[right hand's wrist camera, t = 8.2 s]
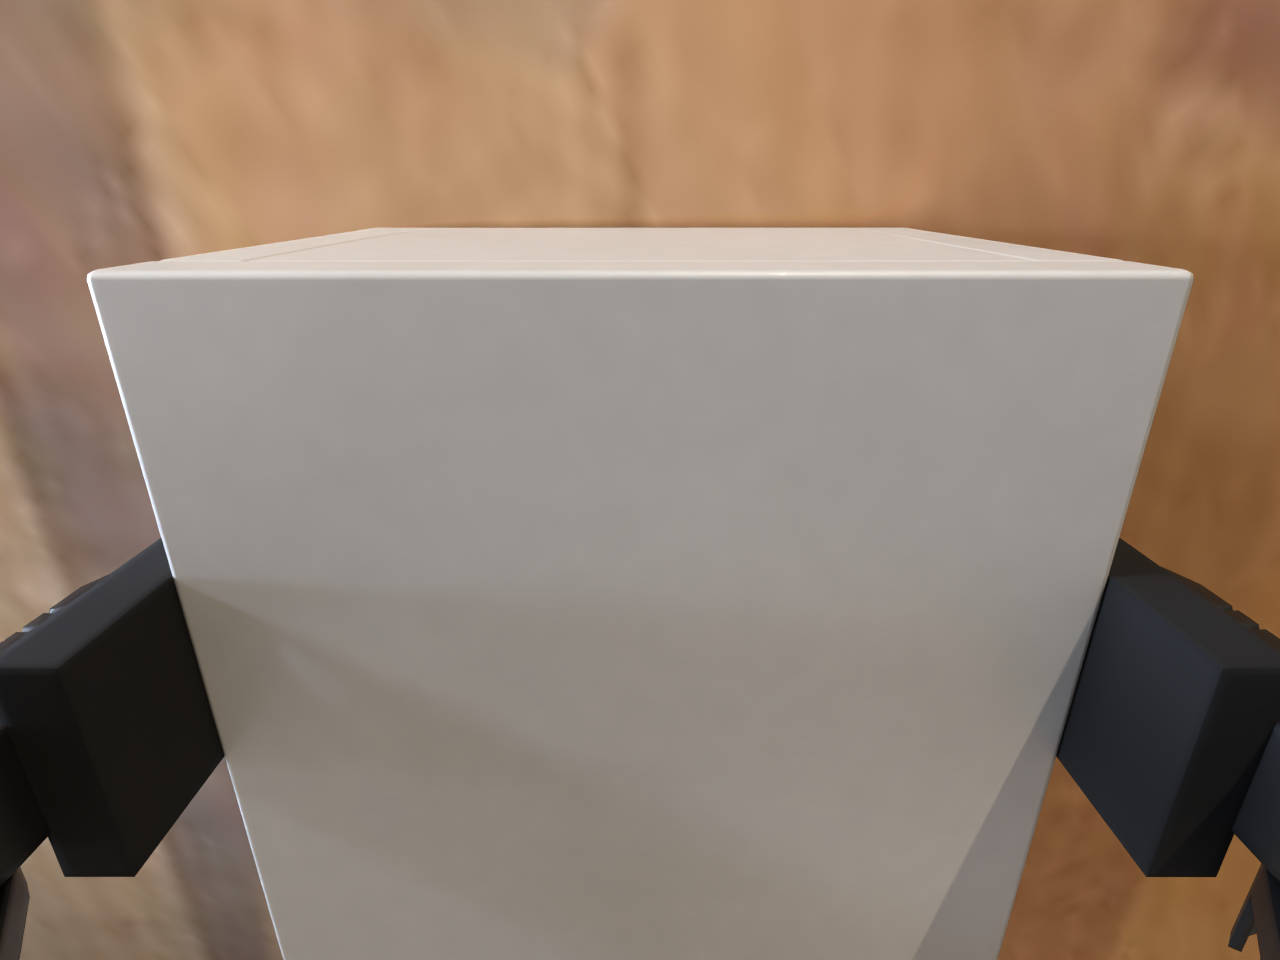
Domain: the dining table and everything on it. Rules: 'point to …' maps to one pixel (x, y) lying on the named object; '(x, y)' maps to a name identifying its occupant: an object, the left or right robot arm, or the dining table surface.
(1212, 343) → the dining table surface
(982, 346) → the cabinet
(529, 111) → the dining table surface
